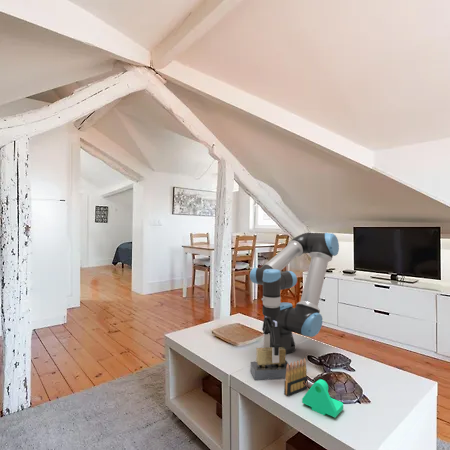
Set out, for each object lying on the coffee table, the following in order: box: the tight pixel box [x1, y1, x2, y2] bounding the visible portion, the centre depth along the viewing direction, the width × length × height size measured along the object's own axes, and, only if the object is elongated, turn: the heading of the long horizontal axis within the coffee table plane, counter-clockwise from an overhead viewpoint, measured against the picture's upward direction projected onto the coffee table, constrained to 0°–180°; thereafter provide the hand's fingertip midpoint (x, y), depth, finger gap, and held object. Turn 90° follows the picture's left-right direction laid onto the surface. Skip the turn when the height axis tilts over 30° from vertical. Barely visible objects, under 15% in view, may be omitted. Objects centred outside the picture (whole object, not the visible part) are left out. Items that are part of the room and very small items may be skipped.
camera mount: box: [301, 378, 344, 418], centre depth 107 cm, size 12×8×10 cm, turn 47°
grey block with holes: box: [250, 359, 290, 381], centre depth 130 cm, size 16×8×4 cm, turn 98°
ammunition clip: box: [283, 357, 309, 398], centre depth 117 cm, size 11×2×12 cm, turn 122°
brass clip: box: [255, 347, 287, 368], centre depth 130 cm, size 12×3×11 cm, turn 98°
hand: (270, 355), depth 130 cm, fingers open, 13 cm apart
